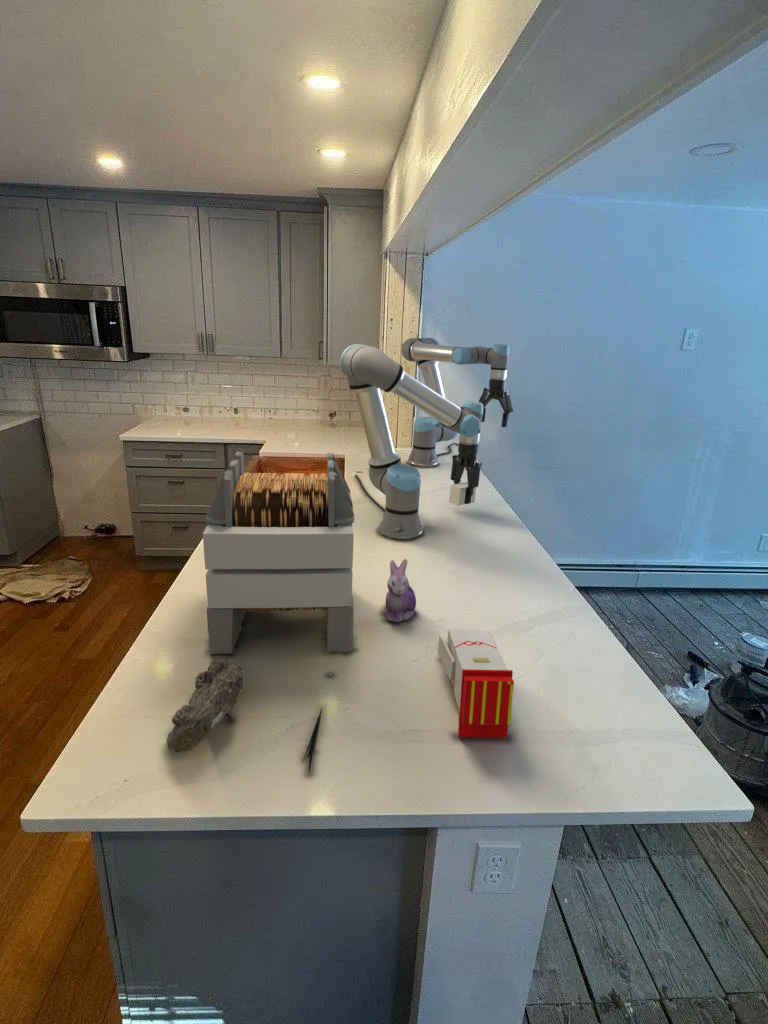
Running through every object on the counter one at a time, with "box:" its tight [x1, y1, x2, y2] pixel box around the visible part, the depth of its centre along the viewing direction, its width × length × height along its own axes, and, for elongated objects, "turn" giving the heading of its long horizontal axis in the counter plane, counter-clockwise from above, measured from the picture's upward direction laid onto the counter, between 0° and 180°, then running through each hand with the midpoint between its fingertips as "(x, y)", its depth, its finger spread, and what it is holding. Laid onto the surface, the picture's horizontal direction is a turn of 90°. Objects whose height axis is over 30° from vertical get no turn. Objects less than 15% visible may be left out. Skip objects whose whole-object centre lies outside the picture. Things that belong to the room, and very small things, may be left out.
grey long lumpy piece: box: [166, 658, 245, 754], centre depth 106 cm, size 22×10×15 cm
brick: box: [448, 481, 477, 507], centre depth 221 cm, size 9×5×7 cm, turn 129°
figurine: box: [384, 558, 417, 623], centre depth 145 cm, size 9×10×15 cm
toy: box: [437, 628, 515, 738], centre depth 117 cm, size 12×13×30 cm
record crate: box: [202, 451, 355, 655], centre depth 137 cm, size 34×33×41 cm
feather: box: [301, 673, 332, 771], centre depth 108 cm, size 2×28×2 cm
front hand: (461, 500), depth 222 cm, fingers closed on brick, 5 cm apart
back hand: (492, 424), depth 270 cm, fingers open, 13 cm apart
